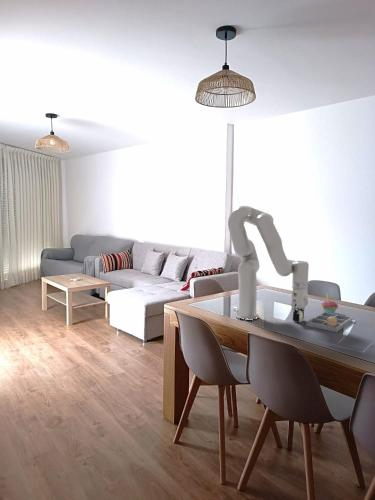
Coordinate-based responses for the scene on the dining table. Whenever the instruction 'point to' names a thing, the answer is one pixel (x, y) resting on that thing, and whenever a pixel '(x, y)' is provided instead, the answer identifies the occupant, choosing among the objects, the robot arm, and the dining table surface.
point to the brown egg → (332, 321)
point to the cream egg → (300, 316)
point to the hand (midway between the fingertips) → (298, 319)
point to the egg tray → (322, 318)
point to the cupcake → (329, 306)
